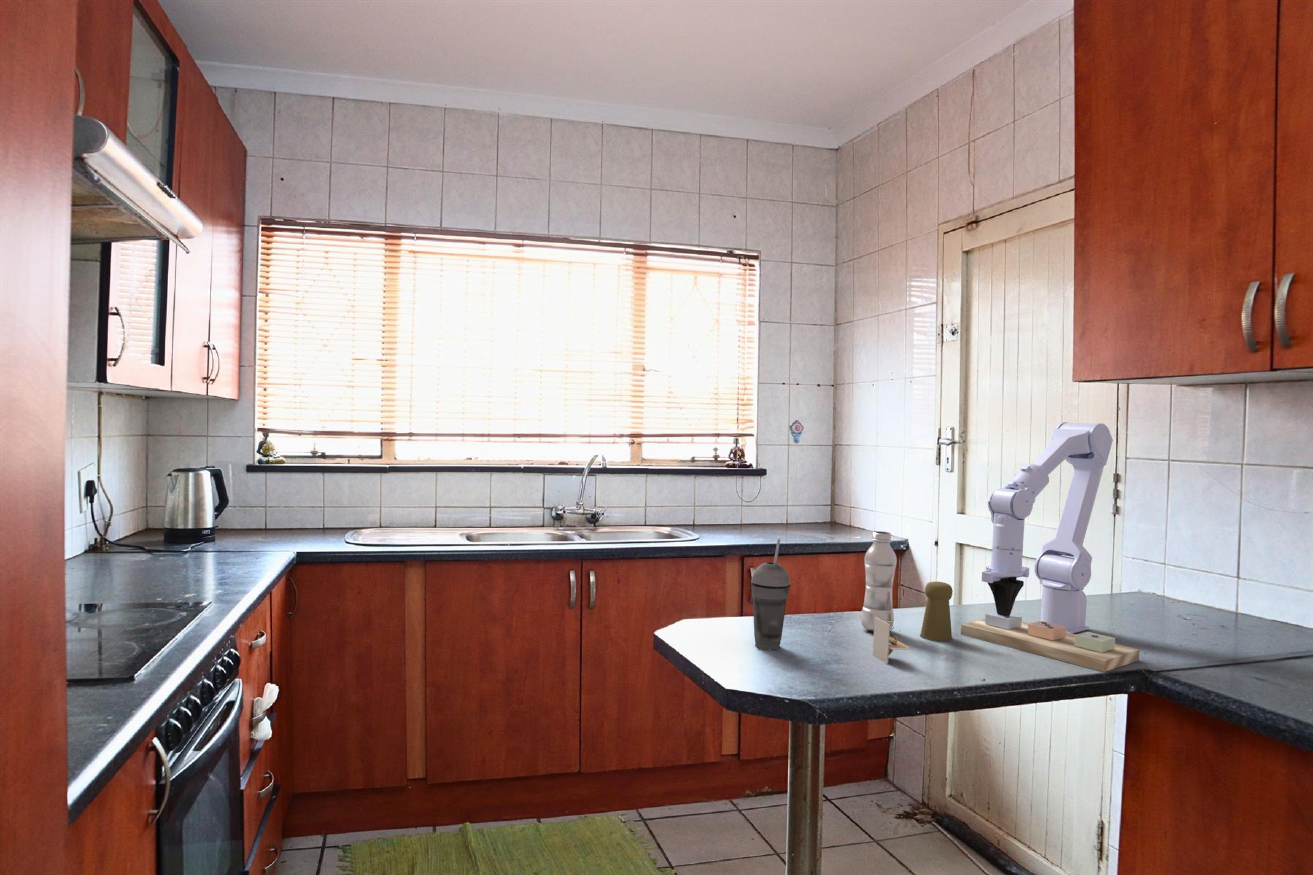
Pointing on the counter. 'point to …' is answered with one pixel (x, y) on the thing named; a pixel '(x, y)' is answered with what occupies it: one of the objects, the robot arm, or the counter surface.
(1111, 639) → the tile one
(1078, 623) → the robot arm
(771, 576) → the beverage cup
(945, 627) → the cork
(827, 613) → the counter surface
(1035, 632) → the tile three
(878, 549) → the plastic bottle
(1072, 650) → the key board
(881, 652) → the architectural model
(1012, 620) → the tile two
